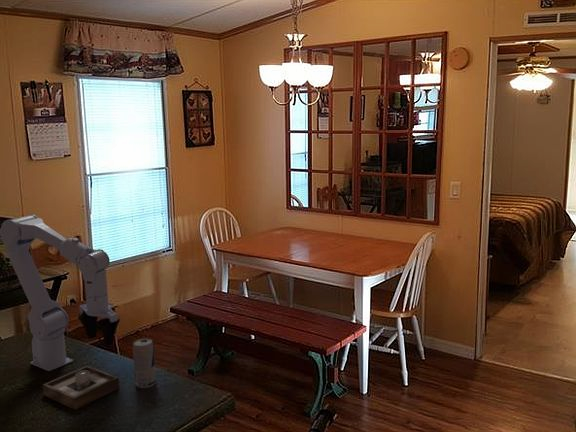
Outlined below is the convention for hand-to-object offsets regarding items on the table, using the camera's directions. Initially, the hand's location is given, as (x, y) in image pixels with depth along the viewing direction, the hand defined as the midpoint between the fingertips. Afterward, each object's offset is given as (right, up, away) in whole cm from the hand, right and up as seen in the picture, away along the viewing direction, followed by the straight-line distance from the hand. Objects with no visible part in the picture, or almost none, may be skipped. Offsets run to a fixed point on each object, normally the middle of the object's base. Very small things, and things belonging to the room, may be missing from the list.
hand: (100, 340), depth 159 cm
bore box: (-2, -11, -10) cm, 15 cm away
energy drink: (+14, -10, -7) cm, 19 cm away
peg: (-1, -11, -10) cm, 15 cm away
